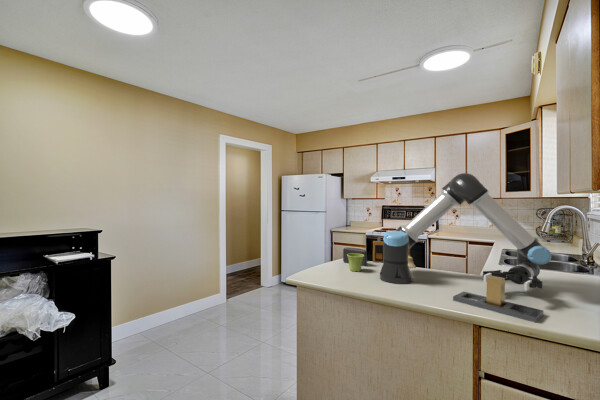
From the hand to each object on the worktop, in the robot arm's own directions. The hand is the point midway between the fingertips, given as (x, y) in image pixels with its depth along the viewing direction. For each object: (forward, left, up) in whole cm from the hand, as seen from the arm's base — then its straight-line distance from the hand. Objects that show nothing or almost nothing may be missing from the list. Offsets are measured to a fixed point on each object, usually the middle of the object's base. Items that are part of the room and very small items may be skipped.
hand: (504, 282), depth 113 cm
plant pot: (-68, -8, -8) cm, 69 cm away
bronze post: (0, -9, -8) cm, 12 cm away
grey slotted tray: (0, -9, -8) cm, 12 cm away
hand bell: (-56, +26, -8) cm, 62 cm away
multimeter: (-76, +24, -8) cm, 80 cm away
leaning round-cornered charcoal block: (-79, +3, -8) cm, 79 cm away
